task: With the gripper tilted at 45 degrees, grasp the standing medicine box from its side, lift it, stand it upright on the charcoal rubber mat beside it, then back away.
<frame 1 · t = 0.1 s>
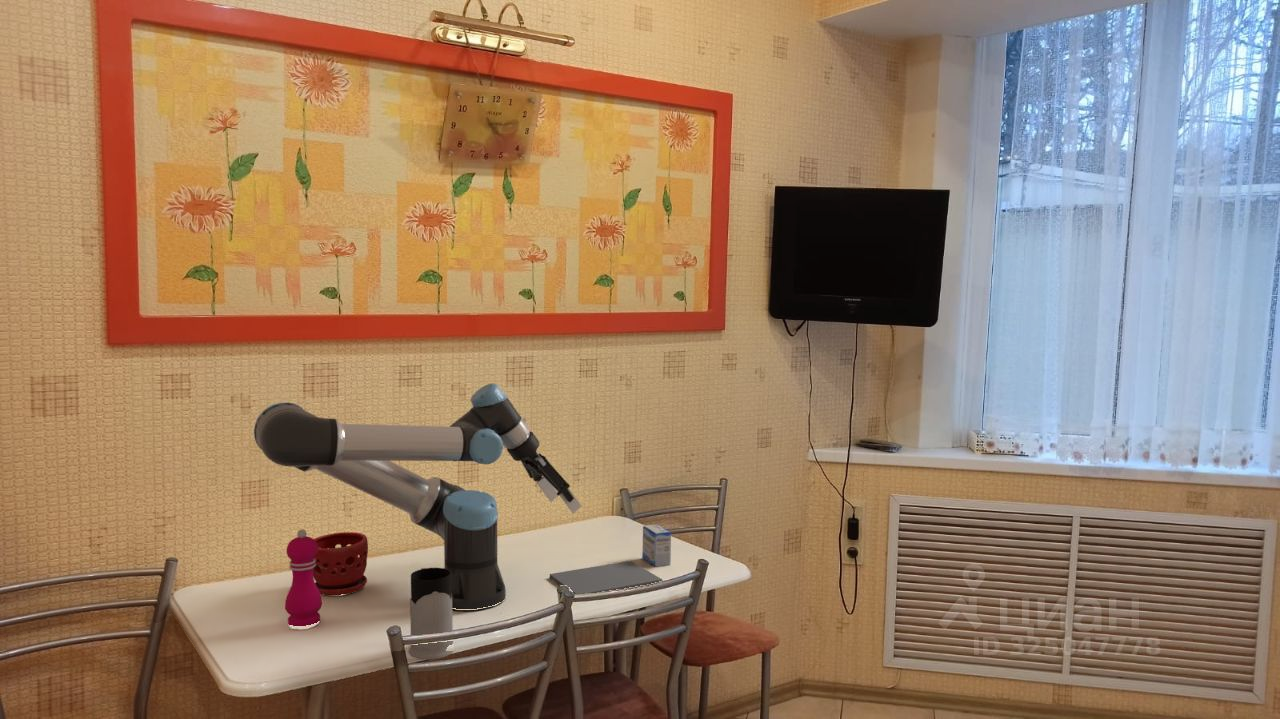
hand: (565, 503, 220), 15 cm above the table, tool tilted 35°, fingers open, 13 cm apart
glass holder: (429, 645, 171), on the table
plant pot: (338, 591, 202), on the table
medicine box: (656, 562, 224), on the table
rubber mat: (605, 580, 209), on the table
pepper mill: (304, 625, 181), on the table
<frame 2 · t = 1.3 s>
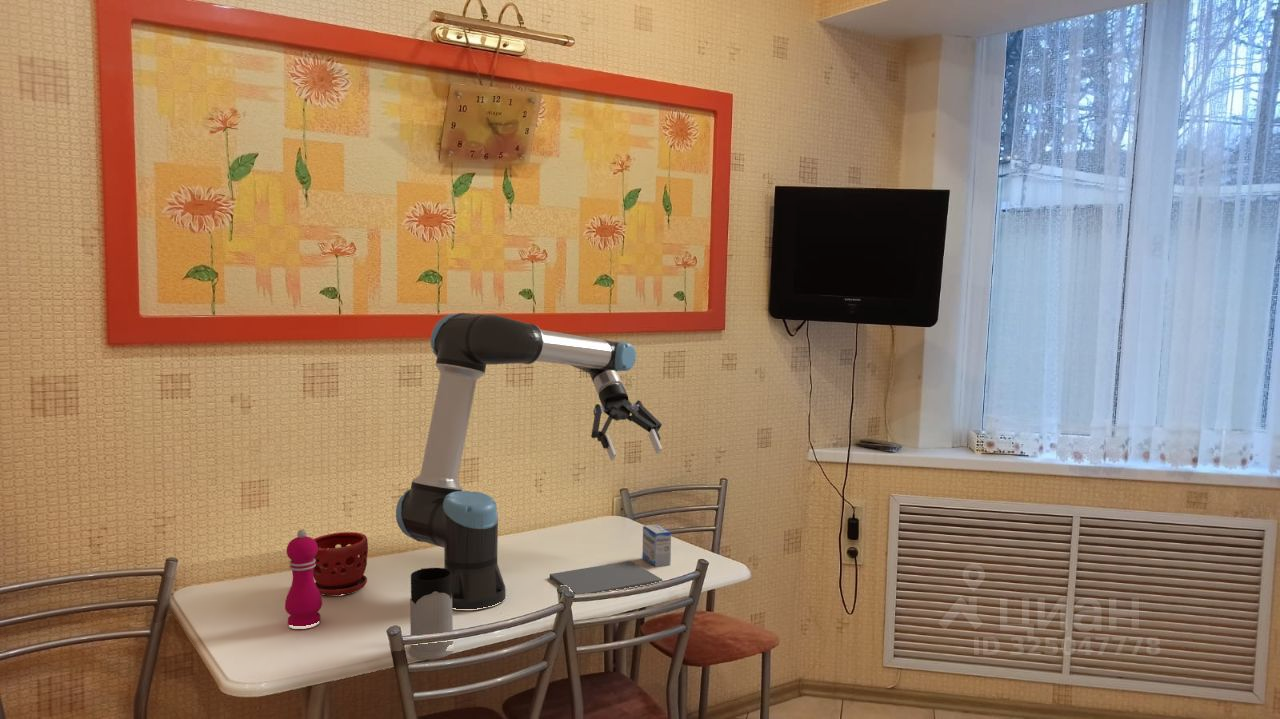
hand: (637, 454, 230), 26 cm above the table, tool tilted 45°, fingers open, 13 cm apart
nothing on the table moved.
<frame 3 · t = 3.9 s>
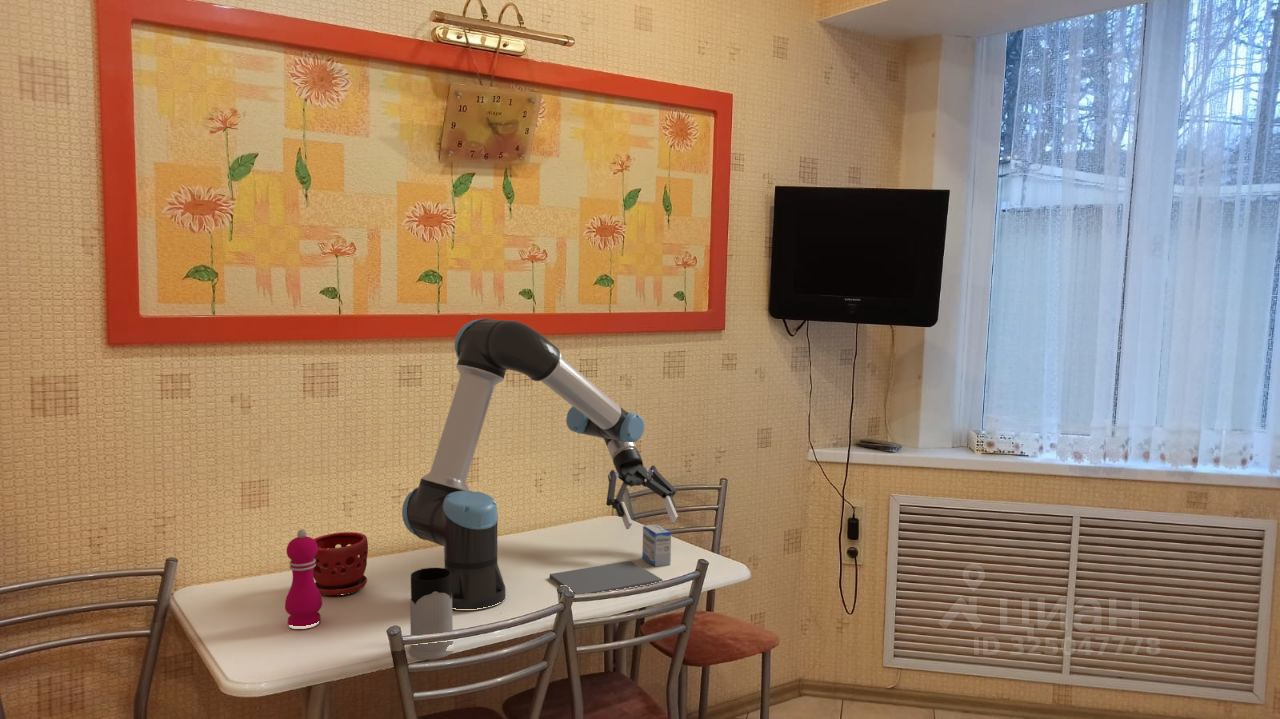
hand: (652, 523, 227), 9 cm above the table, tool tilted 45°, fingers open, 13 cm apart
nothing on the table moved.
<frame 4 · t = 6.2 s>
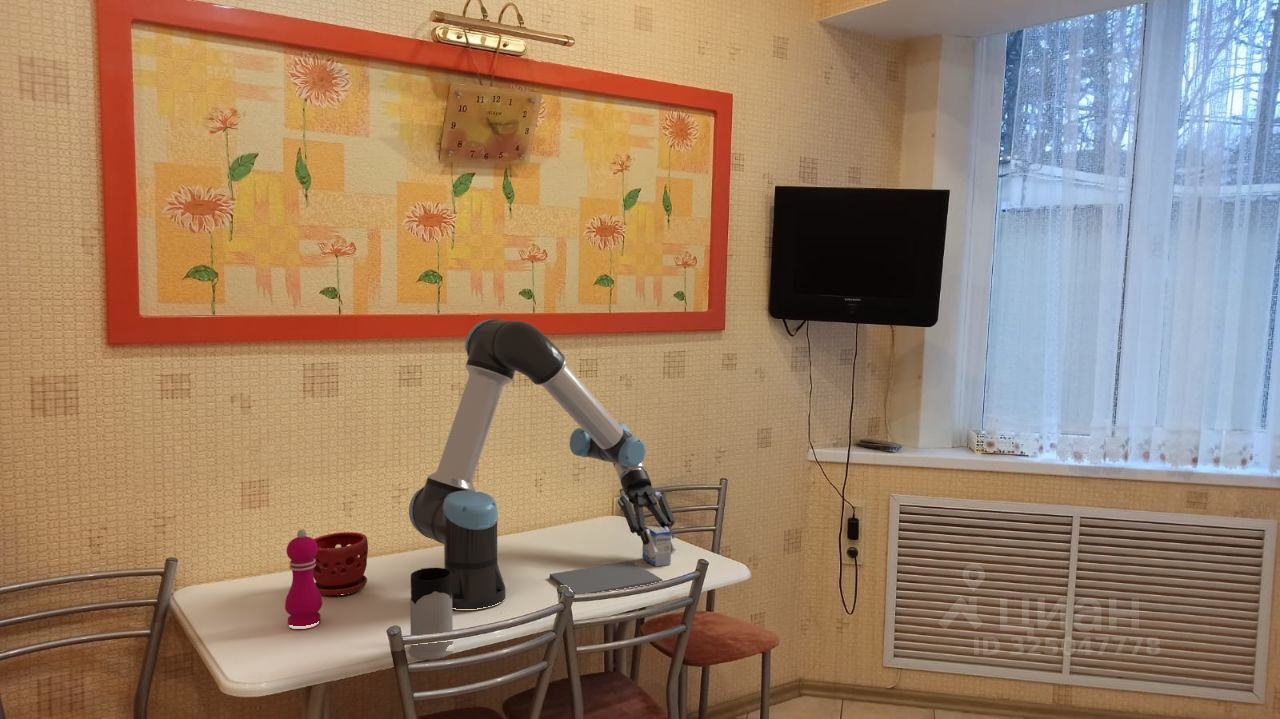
hand: (663, 552, 220), 3 cm above the table, tool tilted 45°, fingers closed on medicine box, 5 cm apart
medicine box: (656, 562, 224), on the table, touching gripper
everything else where it was.
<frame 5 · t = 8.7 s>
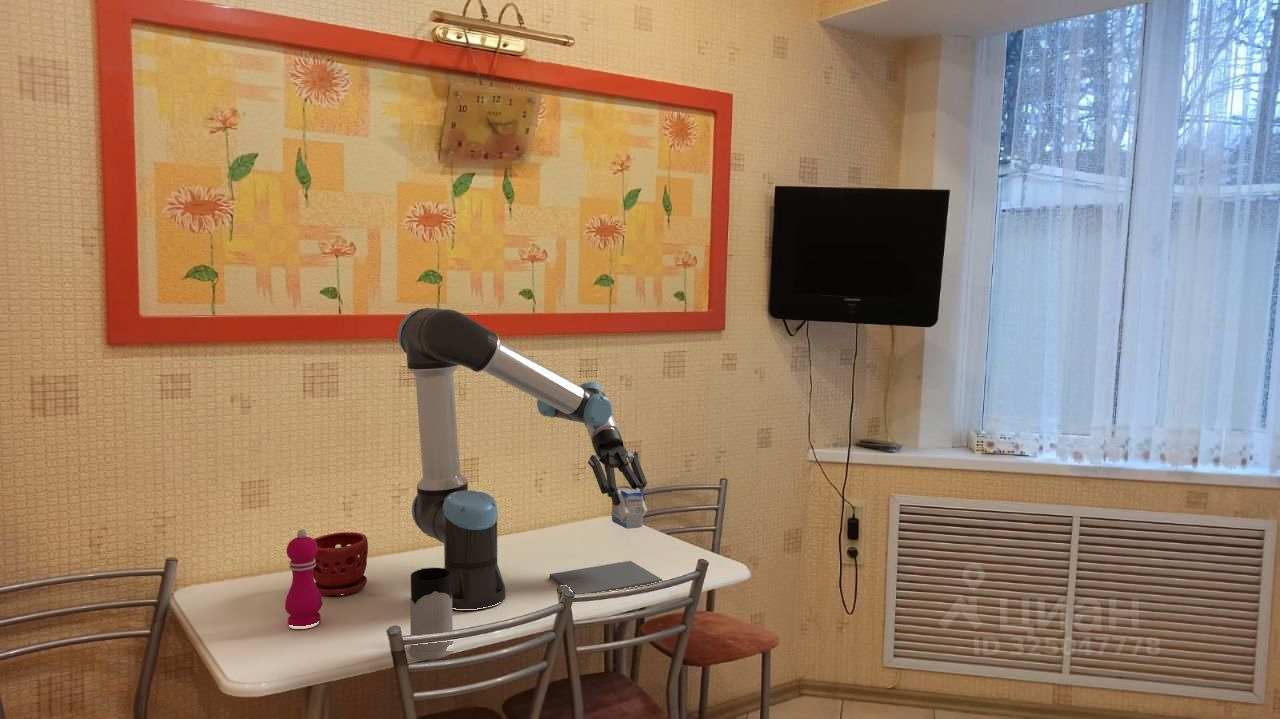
hand: (634, 514, 210), 16 cm above the table, tool tilted 45°, fingers closed on medicine box, 4 cm apart
medicine box: (626, 525, 214), point 12 cm above the table, touching gripper
everything else where it was.
when the fingers open (6 cm above the table, at t = 11.3 s): medicine box drops 1 cm, resting on rubber mat.
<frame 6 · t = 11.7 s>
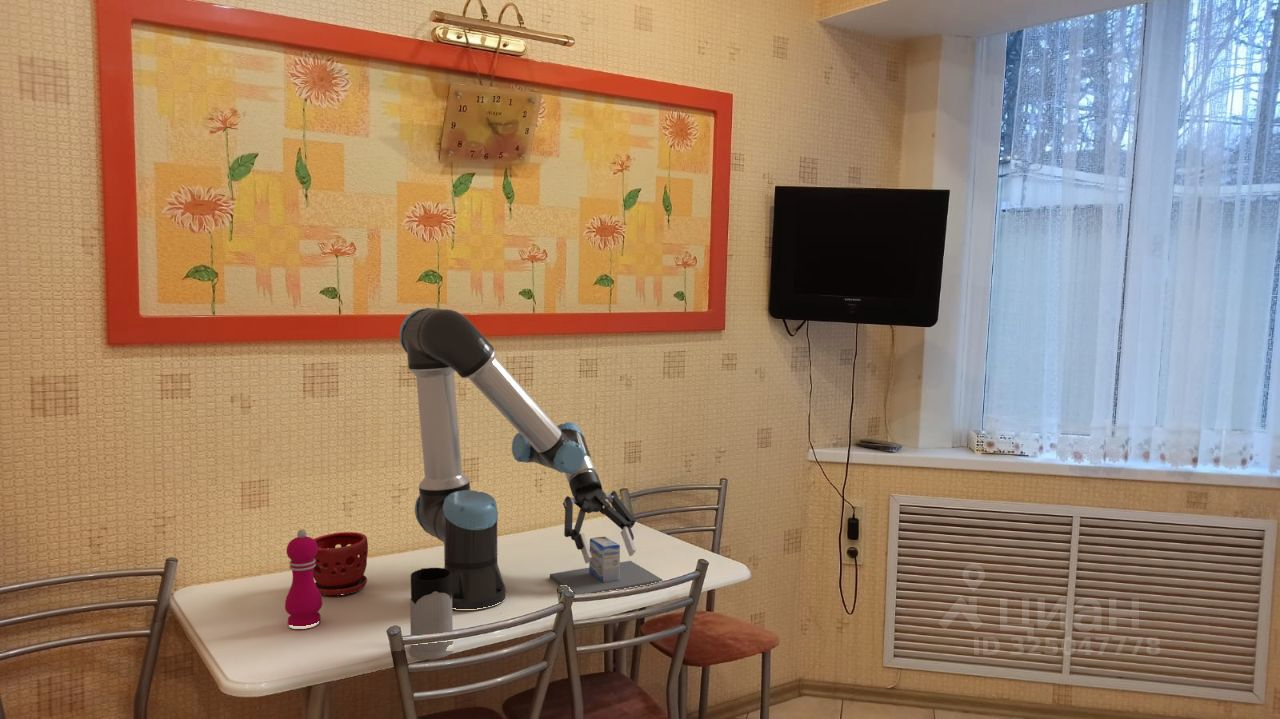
hand: (611, 556, 206), 7 cm above the table, tool tilted 45°, fingers open, 11 cm apart
medicine box: (604, 577, 209), point 1 cm above the table, touching rubber mat
everything else where it was.
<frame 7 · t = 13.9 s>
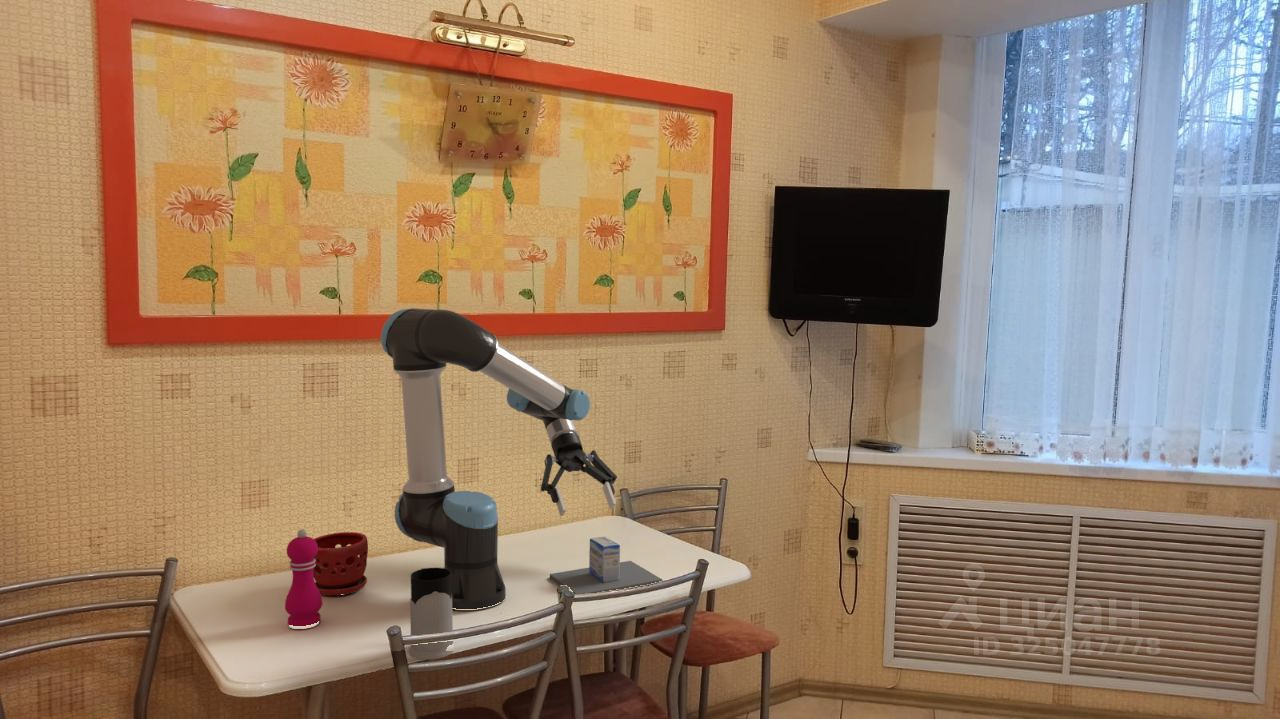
hand: (588, 509, 216), 15 cm above the table, tool tilted 45°, fingers open, 13 cm apart
nothing on the table moved.
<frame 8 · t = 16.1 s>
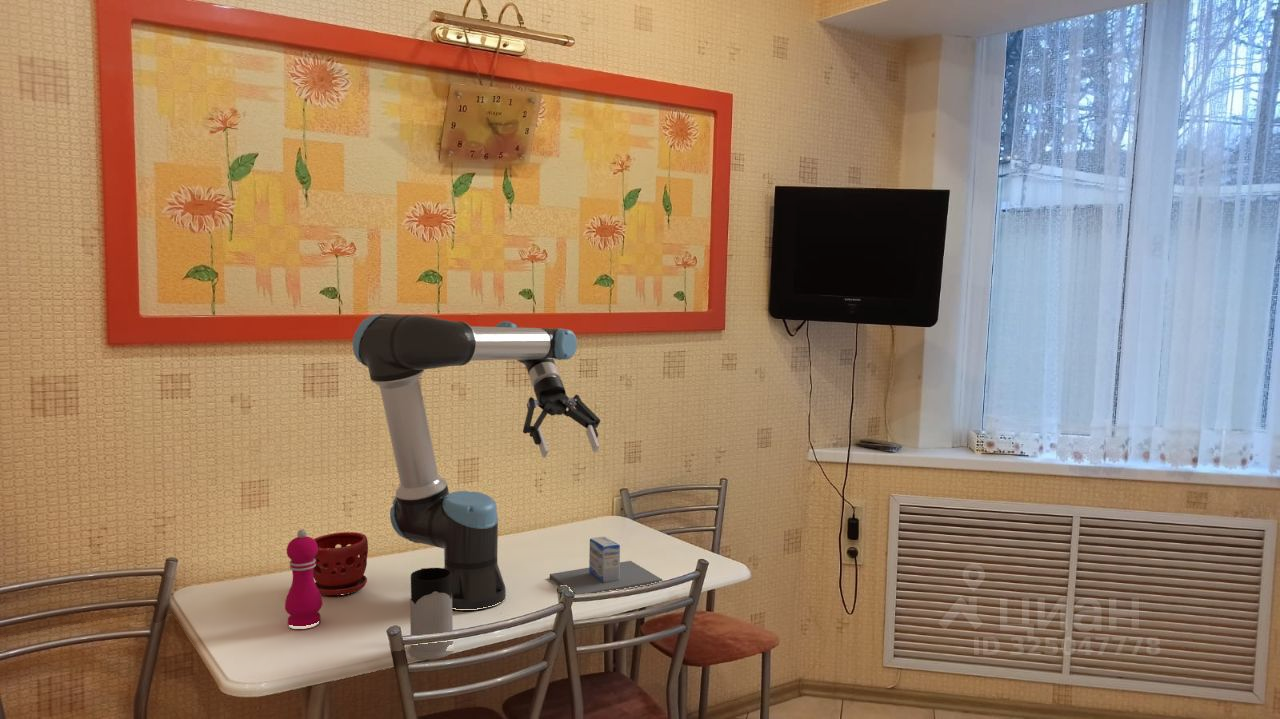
hand: (571, 451, 214), 30 cm above the table, tool tilted 45°, fingers open, 13 cm apart
nothing on the table moved.
at the end: medicine box inside the target area on the rubber mat (0.3 cm from its centre), point 0.8 cm above the rubber mat's base; medicine box tilted 0°; the gripper is holding nothing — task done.
